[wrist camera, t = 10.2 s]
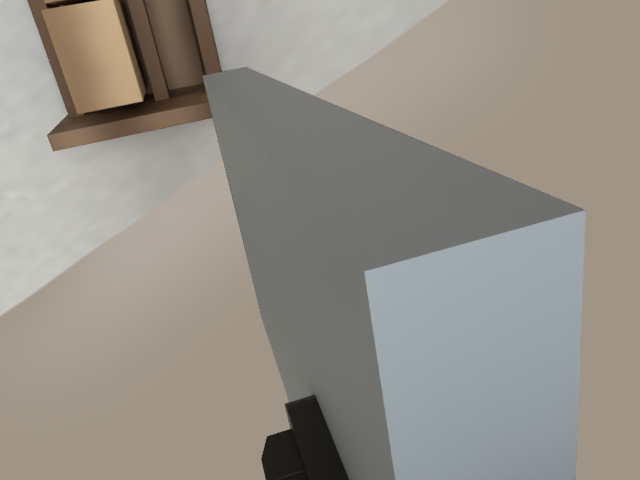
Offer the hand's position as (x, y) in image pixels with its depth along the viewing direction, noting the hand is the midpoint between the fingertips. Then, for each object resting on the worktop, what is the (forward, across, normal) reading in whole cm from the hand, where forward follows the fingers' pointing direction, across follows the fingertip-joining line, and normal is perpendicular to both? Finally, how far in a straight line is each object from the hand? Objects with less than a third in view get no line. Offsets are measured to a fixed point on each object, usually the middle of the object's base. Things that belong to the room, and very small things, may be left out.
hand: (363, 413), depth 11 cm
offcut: (+38, +7, -7) cm, 39 cm away
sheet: (+17, 0, +1) cm, 17 cm away
